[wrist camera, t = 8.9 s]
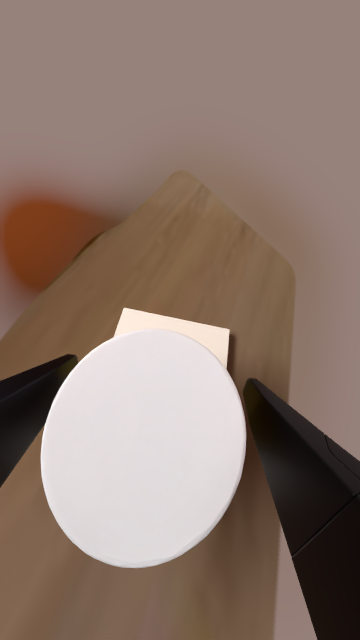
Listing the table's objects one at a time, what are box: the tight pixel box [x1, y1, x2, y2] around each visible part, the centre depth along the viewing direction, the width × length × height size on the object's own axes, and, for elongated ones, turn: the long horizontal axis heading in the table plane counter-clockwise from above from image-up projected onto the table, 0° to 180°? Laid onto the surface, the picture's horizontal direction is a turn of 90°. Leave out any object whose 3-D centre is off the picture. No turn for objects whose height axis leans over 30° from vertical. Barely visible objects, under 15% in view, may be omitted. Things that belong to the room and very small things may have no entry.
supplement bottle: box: [41, 329, 246, 568], centre depth 10 cm, size 7×7×13 cm
